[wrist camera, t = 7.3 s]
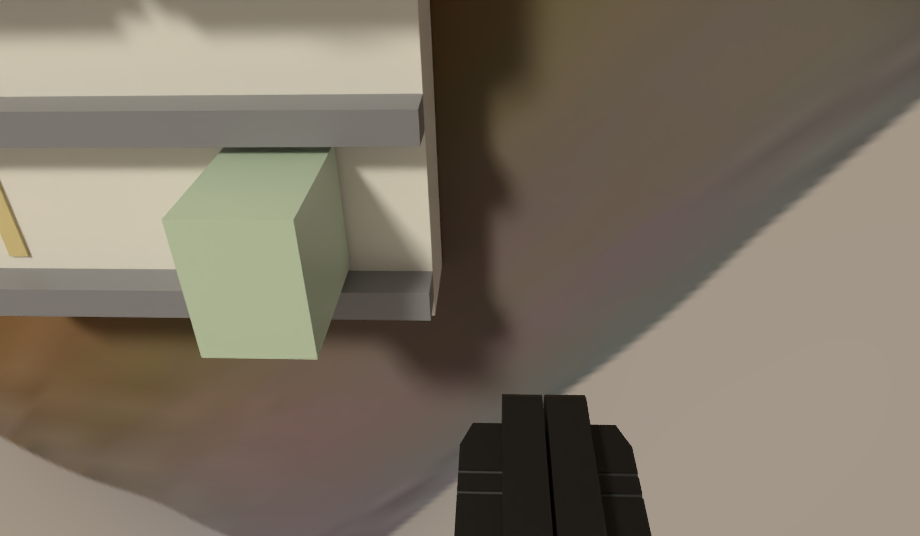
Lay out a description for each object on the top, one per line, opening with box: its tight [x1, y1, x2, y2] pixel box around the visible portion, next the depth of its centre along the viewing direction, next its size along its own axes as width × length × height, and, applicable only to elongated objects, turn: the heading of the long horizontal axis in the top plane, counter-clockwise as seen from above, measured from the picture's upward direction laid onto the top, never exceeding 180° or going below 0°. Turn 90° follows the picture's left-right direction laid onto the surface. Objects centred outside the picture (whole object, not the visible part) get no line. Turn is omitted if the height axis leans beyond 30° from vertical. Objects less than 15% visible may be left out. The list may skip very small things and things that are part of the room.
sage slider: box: [162, 147, 350, 359], centre depth 19 cm, size 4×3×4 cm
